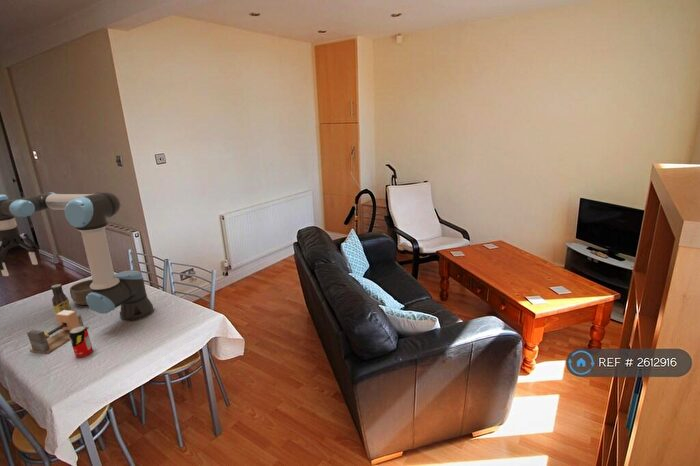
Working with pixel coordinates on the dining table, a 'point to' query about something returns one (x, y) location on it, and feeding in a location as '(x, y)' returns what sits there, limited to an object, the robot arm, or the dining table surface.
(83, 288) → the bowl
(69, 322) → the sleeve
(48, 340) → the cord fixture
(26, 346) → the dining table surface
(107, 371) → the dining table surface
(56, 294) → the sauce bottle
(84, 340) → the beverage can
